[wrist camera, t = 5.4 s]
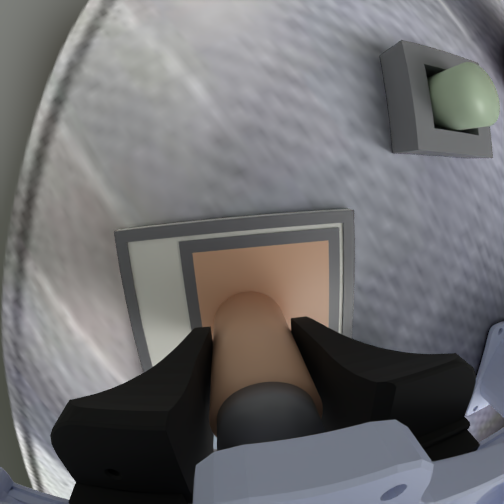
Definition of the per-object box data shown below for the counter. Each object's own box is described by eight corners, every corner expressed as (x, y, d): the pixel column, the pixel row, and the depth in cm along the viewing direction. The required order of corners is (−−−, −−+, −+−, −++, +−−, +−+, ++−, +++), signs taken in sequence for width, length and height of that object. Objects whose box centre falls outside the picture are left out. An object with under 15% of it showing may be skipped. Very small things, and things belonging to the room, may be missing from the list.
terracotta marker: (282, 287, 13) (337, 390, 6) (284, 350, 14) (328, 468, 7) (209, 295, 13) (197, 407, 6) (218, 357, 13) (218, 483, 7)
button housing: (453, 72, 12) (478, 63, 10) (465, 158, 13) (492, 157, 11) (379, 55, 12) (401, 40, 10) (392, 153, 13) (418, 150, 11)
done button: (451, 83, 12) (492, 70, 8) (459, 135, 12) (503, 130, 9) (410, 74, 11) (450, 55, 8) (418, 129, 12) (462, 121, 9)
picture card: (347, 208, 13) (354, 210, 13) (336, 439, 16) (339, 446, 16) (119, 229, 13) (113, 231, 12) (176, 456, 16) (175, 464, 15)
